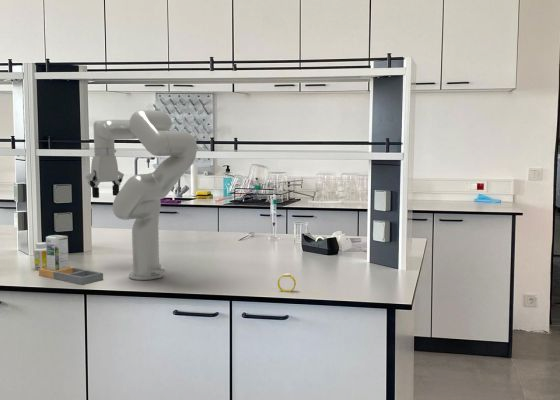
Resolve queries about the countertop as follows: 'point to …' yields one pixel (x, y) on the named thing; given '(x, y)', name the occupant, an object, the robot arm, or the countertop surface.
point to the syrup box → (57, 252)
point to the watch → (286, 276)
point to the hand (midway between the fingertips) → (106, 196)
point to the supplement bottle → (40, 255)
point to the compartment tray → (72, 275)
